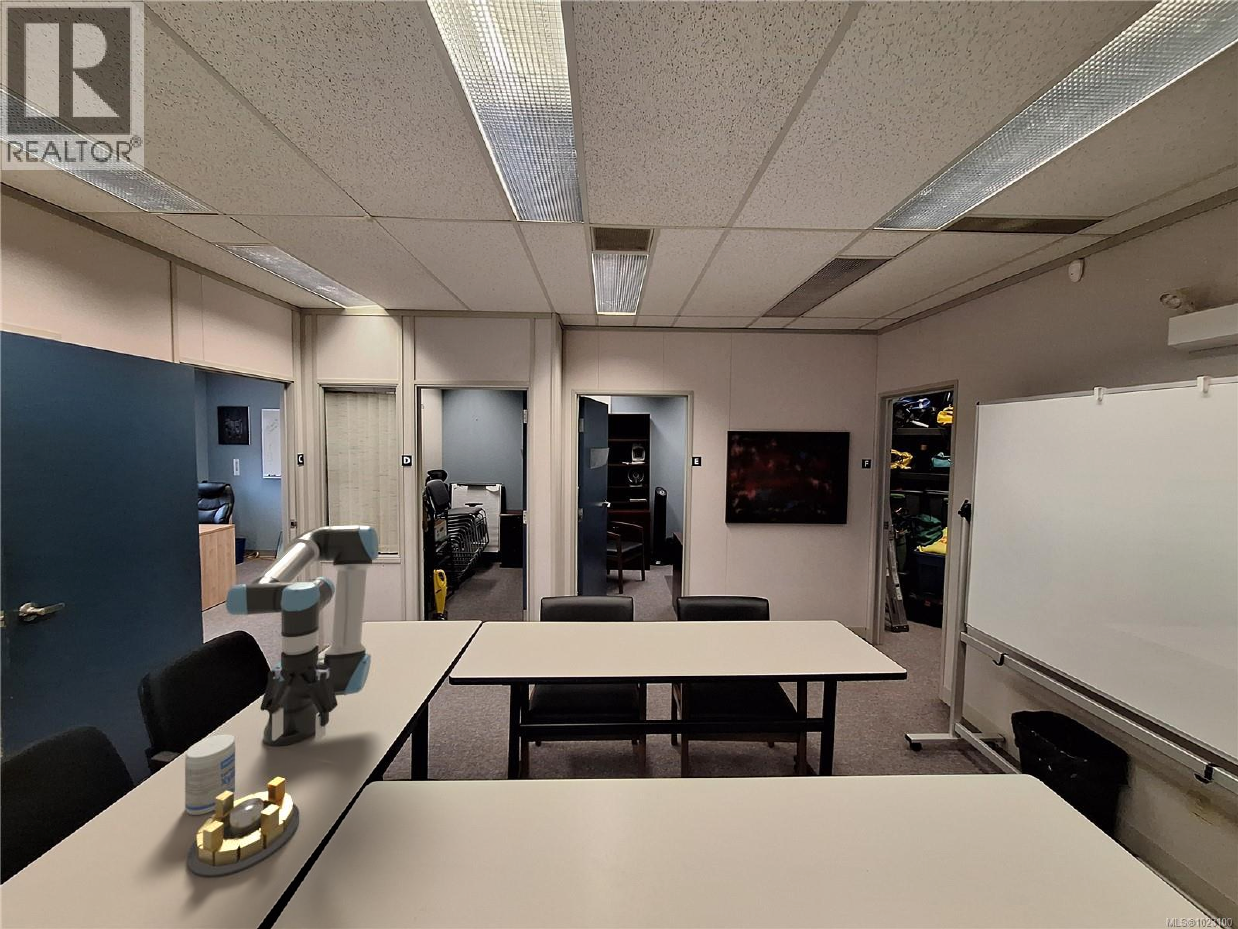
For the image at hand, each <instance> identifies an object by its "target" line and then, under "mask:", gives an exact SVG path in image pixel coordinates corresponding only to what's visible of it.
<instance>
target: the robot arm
mask: <svg viewBox="0 0 1238 929" xmlns="http://www.w3.org/2000/svg"><path fill="white" fill-rule="evenodd" d="M378 557H379V540H378V534H377V532H376V529H375V528H374V527H373V526H371V525H370V526H369V525H334V526H333V525H325V526H319V527H316V528H313V529H310V530H308V531H304V532H302V533H300V534H299V535H298V536H296V537H294V538H293V539H292V540H290V542H288V544H287V545H286V546H285V548H284V552H283V553H281V555H280V556H278V557H277V559H275V560H274V561H273V562H272V563H271V564H270V565H269V566H268V567H267V568H266V569H265V570H264V571H262V573H261V574H259V575H258V576H257V577H256V578H255V579H254V580H253V581H252V582H250V583H243V584H236V585H233V586H232V587H231V588H229V591H228V592H227V593H226V600H225V609H226V611H227V613H228V614H230V615H231V616H232V615H233V616H236V615H237V616H248V615H262V614H277V613H280V614H281V618H280V619H281V621H280V623H281V624H280V625H281V627H280V628H281V629H280V630H281V633H280V651H281V653H280V661H278V662H277V663H276V664H274V666H273V668H272V669H271V670H270V671H268V673H267V680H268V681H267V684H266V687H265V691H264V694H263V698H262V700H261V704H260V708H259V709H260V711H262V712H263V711H267V713H268V714H269V715H268V716H269V717H268V719H267V722H266V725H265V727H264V729H263V736H262V737H263V742H264V743H265V744H266V745H269V746H272V747H274V746H275V747H281V746H288V745H293V744H296V743H299V742H302V741H304V740H306V739H309V738H310V737H312V736H313V735H314V734H315V739H314V740H315V742H320V740H322V739H323V738H324V737H325V736H326V727H327V725H328V723H329V721H330V713H332V711H333V710H335V708H337V706H338V705H339V704H338V700H337V698H336V697H337V696H347V695H353V694H357V693H359V692H361V691H362V690H363V689H364V687H365V684H366V683H367V679H368V677H369V672H370V668H371V661H372V660H371V658H372V657H371V656H372V655H371V654H369V653H366V650H367V648H366V646H364V645H363V644H362V635H363V622H364V607H365V596H366V584H367V583H366V582H367V573H368V572H367V571H368V569H369V568H371V566H372V565H373V561H374V560H377V559H378ZM324 561H326V562H329V561H330V562H331V561H332V568H334V569H335V570H336V572H337V574H336V585H335V584H334V582H333V580H331V579H330V578H328V577H326V576H319V577H318V576H317V577H314V578H312V579H309V580H308V581H295V580H296V579H297V578H298V577H299V575H300V574H301V573H302V572H303V571H304V570H305V569H306V568H307V567H308V566H311V565H313V564H314V563H315V562H324ZM334 595H335V598H334V608H333V618H332V619H333V620H332V631H331V640H330V642H331V643H330V647H328V649H327V650H326V651H325V652H324V655H323V656H324V657H320V658H319V645H318V644H319V637H320V636H319V626H320V624H319V623H320V620H319V619H320V612H321V611H322V610H323V609H324V608H325V607H326V606H327V605H328V604H329V603H330V602H331V601H332V600H331V599H332V598H333V596H334ZM315 732H316V733H315Z"/></svg>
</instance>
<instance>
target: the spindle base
mask: <svg viewBox="0 0 1238 929" xmlns="http://www.w3.org/2000/svg"><path fill="white" fill-rule="evenodd" d="M292 803H293V802H292ZM262 811H263V800H262V799H261V798H251V799H248V800H245V801H243V802H241V803H239V804H238V805H236V806H235V807H234V808H233V809H232V810H231V812H230V825H229V826H228V827H227V828H225V829H224V830H223V839H224V840H230V839H237V838H242V837H244V836H247V835H249V834H251V833H253V832H255V831H258V830H259V829H261V812H262ZM299 822H300V811H299V808H298V806H297V804H295V803H293V818H292V820H291V822H290V824H289V826H288V828H287V830H286V831H285V832H283V835H282V836H280V837H279V838H278V839H277V840H276V841H274V842H273V843H272V844H271V845H270V846H268V847H267V848H265V847H263V851H261V852H259V853H256V854H254V855H252V856H250V857H248V858H246V859H244V860H242V861H240V858H239V859H238V861H237V862H236V863H230V864H224V865H218V866H215V864H214V865H213V866H211V865H208V864H205V863H203V862H200V861H199V859H197V838H195V840H194V841H193V843H192V844H191V847H190V848H189V850H188V853H187V866H188V869H189V871H190V872H191V873H192V874H193V875H196V876H197V877H201V878H219V877H220V878H221V877H226V876H230V875H235V874H237V873H239V872H242V871H244V870H247V869H249V868H252V867H253V866H255V865H257V864H259V863H261V862H263V861H265V860H266V859H268V858H270V857H271V856H272V855H273V854H275V853H277V851H279V850H280V849H281V848H282V847H283V846H284V845H285V844H286V843H288V841H289V840H290V839H292V838H291V837H293V835H294V834H295V832H296V830H297V829H298V825H299ZM278 849H279V850H278ZM274 852H275V853H274ZM270 855H271V856H270Z"/></svg>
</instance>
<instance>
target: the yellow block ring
mask: <svg viewBox="0 0 1238 929" xmlns="http://www.w3.org/2000/svg"><path fill="white" fill-rule="evenodd" d="M251 798H261V799H262V800H263V811H262V812H261V829H259V830H258V831H255V832H253V833H251V834H249V835H247V836H244V837H242V838H237V839H230V840H224V839H223V830H224V829H225V828H227V827H228V826H229V825H230V812H231V810H232V809H233V808H234V807H235V806H236V805H238V804H239V803H241V802H243V801H245V800H248V799H251ZM292 818H293V801H292V798H291V795H289V793H286V778H283V777H280V776H277V777H275V778H274V779H273V780H271V781H270V782H268V783H267V791H261V792H256V793H255V794H252V793H251V794H250V795H246V796H245V797H242V798H239V799H237V800H235V793H233V792H230V791H225V792H223V793H222V794H220V795H219V796H217V797H216V798H215V810H214V814H212V815H210V818H207V820H206V821H205V822H204V823H203V825H202V826H201V827H200V828H199V830H198V831H197V834H196V839H197V859H199V861H200V862H203V863H205V864H208V865H211V866H213V865H214V864H215V866H218V865H224V864H230V863H236V862H237V861H238V859H239V858H240V861H242V860H244V859H246V858H248V857H250V856H252V855H254V854H256V853H259V852H261V851H263V847H265V848H267V847H268V846H270V845H271V844H272V843H273V842H274V841H276V840H277V839H278V838H279V837H280V836H282V835H283V832H285V831H286V830H287V828H288V826H289V824H290V822H291V820H292Z"/></svg>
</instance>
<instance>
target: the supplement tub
mask: <svg viewBox="0 0 1238 929" xmlns="http://www.w3.org/2000/svg"><path fill="white" fill-rule="evenodd" d="M235 739H236V738H235V736H233V735H232V734H218V735H213V736H209V737H206V738H204V739H201V740H200V741H198V742H196V743H194V744H193V745H191V746H190V747H189V748H188V749H187V750H186V752H185V759H184V769H185V770H184V773H185V774H184V790H185V791H184V800H185V801H184V808H185V811H186V813H187V814H190V815H194V816H195V815H196V816H198V815H199V816H200V815H204V814H207V813H211V812H214V811H215V798H216V797H217V796H219V795H220V794H222V793H223V792H225V791H230V792H233V793H234V794H235V792H236V742H235V741H236V740H235Z"/></svg>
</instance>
